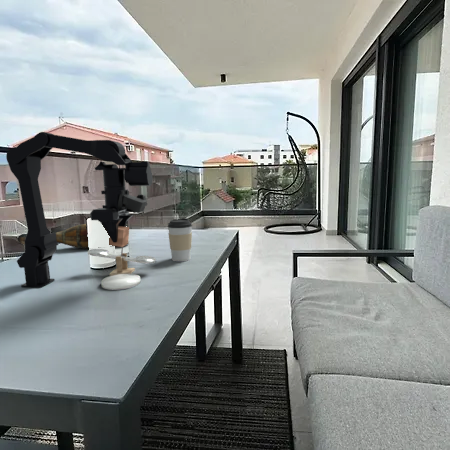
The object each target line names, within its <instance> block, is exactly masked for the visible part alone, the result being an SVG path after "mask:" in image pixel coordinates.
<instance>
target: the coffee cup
mask: <svg viewBox="0 0 450 450" xmlns="http://www.w3.org/2000/svg"><path fill="white" fill-rule="evenodd" d="M192 227H193V223H192V222H190V220H189V219H188V218H187V217H186V218H184V217H183V218H177V219H171V220H170V221H169V223H167V229H168V230H167V231H168V233H167V234H168V241H169V249H170V253H171V260H172V261H174V262H187V261H190V260H191V258H192V257H191V252H192V251H191V250H192V242H193V241H192V237H193V235H192V234H193V232H192Z"/></svg>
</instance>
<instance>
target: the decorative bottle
mask: <svg viewBox="0 0 450 450" xmlns="http://www.w3.org/2000/svg"><path fill="white" fill-rule="evenodd" d="M86 224H87V223H85V224H77V225H74V226H71V227H69V228H67V229H64V230H61V231H57V232H55V233H56V240H57V243H58V244H62V245H67V246H70V247H73V248H76V249H84V250H85V249H89V248H88V237H87V230H86ZM127 227H129V225H128V223H127ZM26 235H27V233H21V234H19V235H18V237H17V242H18V244H20V245H22V246H23V245H25V238H26ZM129 243H130V241H128V245H130V244H129Z"/></svg>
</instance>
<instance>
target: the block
mask: <svg viewBox="0 0 450 450" xmlns="http://www.w3.org/2000/svg"><path fill="white" fill-rule="evenodd" d="M129 239H130V227H129V226H128V227H123V226H118V239H117V242H113V241H112V240H111V238H109V245H112V246H111V247H121V248H124V247H125V246H128V245H129V244H128V242H129ZM127 244H128V245H127Z"/></svg>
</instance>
